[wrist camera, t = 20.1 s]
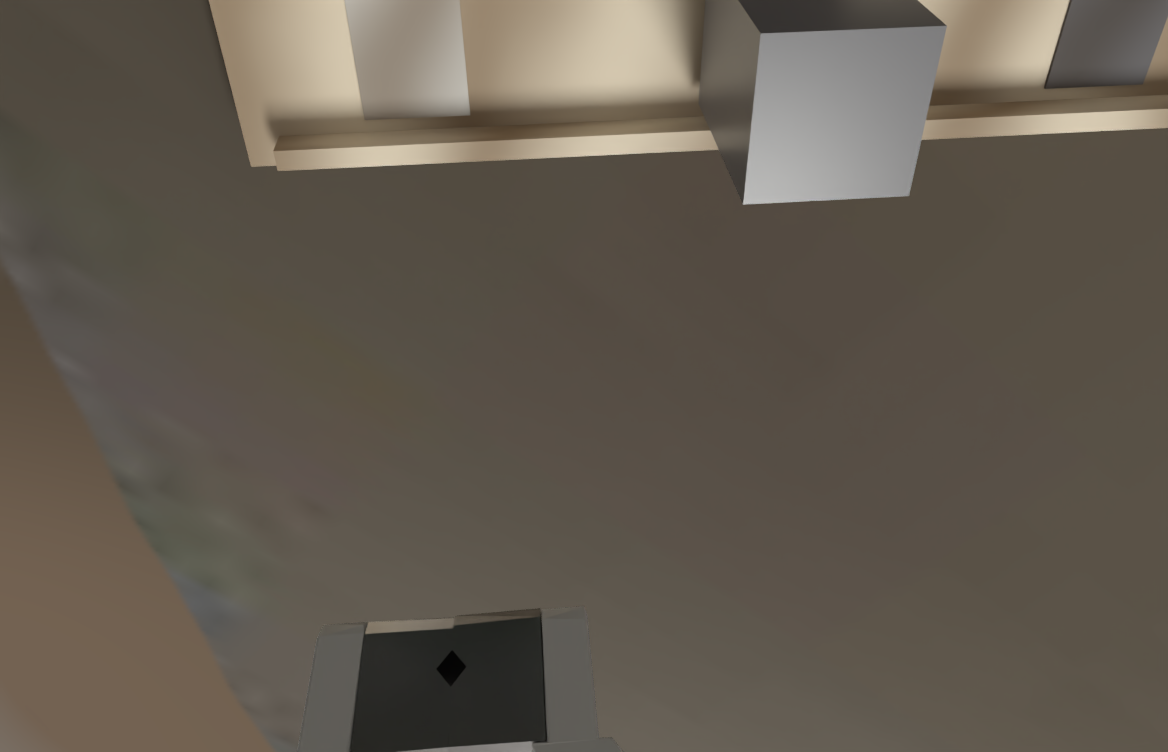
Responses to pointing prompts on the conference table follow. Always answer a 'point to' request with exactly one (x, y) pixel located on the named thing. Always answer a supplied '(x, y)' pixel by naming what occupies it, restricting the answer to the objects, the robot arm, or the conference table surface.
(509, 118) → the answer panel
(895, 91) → the grey rectangular block
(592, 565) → the conference table surface
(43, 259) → the conference table surface
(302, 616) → the conference table surface
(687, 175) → the conference table surface
